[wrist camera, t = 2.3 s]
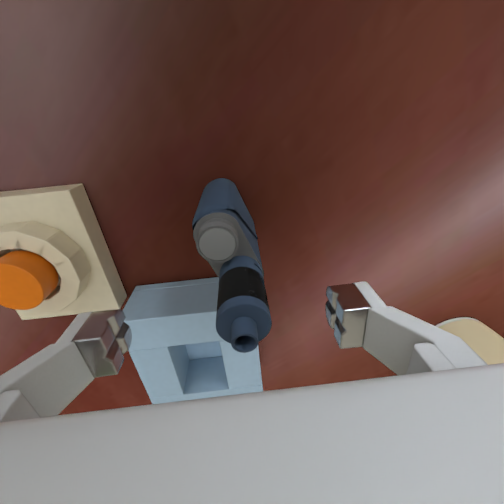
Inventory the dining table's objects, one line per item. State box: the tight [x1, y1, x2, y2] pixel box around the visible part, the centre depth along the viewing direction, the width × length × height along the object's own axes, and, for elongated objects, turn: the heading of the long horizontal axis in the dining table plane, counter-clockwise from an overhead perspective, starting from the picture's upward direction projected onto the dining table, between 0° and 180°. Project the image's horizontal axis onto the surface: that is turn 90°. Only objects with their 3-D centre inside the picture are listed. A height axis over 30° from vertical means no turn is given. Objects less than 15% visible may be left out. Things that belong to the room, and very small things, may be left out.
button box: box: [0, 184, 127, 320], centre depth 19 cm, size 10×8×4 cm
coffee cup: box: [436, 317, 504, 365], centre depth 24 cm, size 9×9×12 cm
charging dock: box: [123, 277, 263, 404], centre depth 24 cm, size 12×10×5 cm
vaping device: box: [192, 178, 272, 353], centre depth 15 cm, size 3×5×12 cm, turn 25°
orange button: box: [0, 250, 59, 310], centre depth 17 cm, size 4×4×2 cm
